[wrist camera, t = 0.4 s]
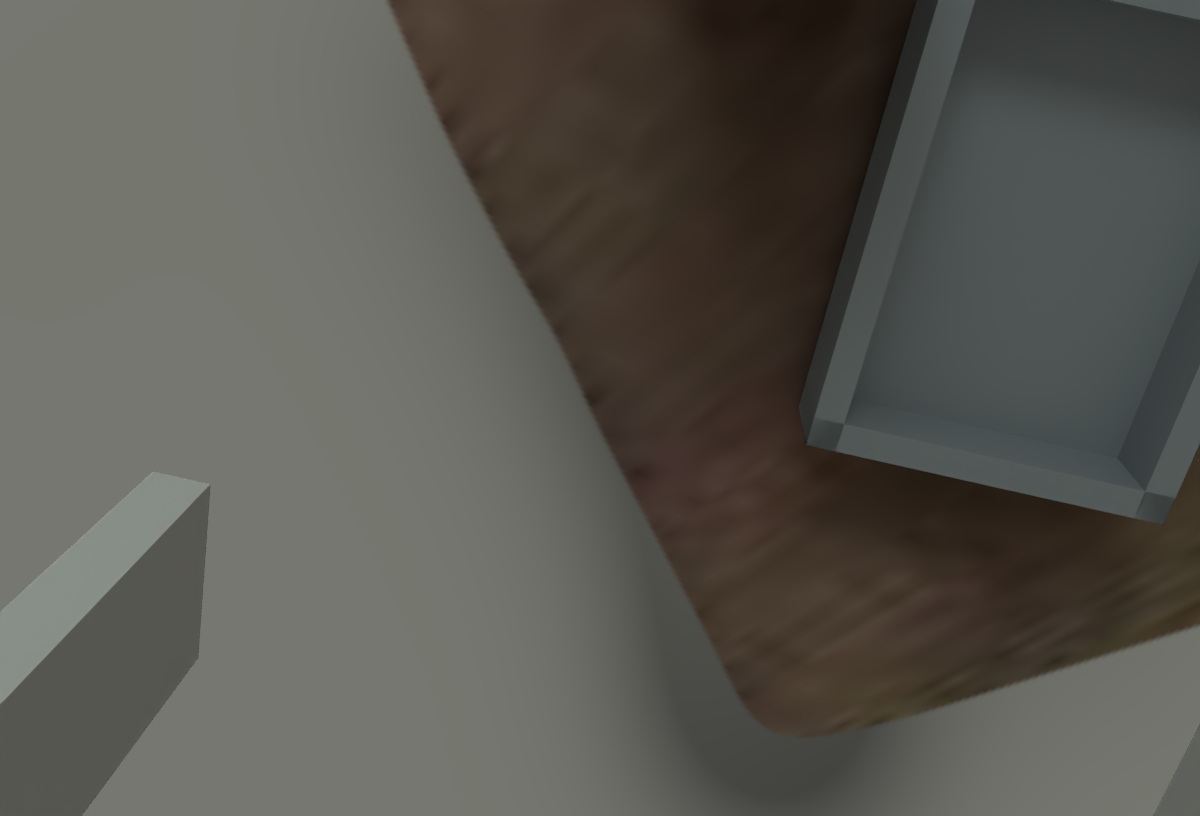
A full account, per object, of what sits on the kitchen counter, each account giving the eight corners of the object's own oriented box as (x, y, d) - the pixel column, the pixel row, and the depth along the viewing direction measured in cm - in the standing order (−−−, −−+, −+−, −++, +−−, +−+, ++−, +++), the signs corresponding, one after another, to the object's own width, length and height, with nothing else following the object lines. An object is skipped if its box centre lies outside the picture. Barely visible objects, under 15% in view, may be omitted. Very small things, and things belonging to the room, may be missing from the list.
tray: (936, -69, 34) (960, -73, 31) (1323, 15, 34) (1387, 19, 31) (798, 406, 40) (805, 445, 37) (1126, 480, 40) (1163, 525, 37)
